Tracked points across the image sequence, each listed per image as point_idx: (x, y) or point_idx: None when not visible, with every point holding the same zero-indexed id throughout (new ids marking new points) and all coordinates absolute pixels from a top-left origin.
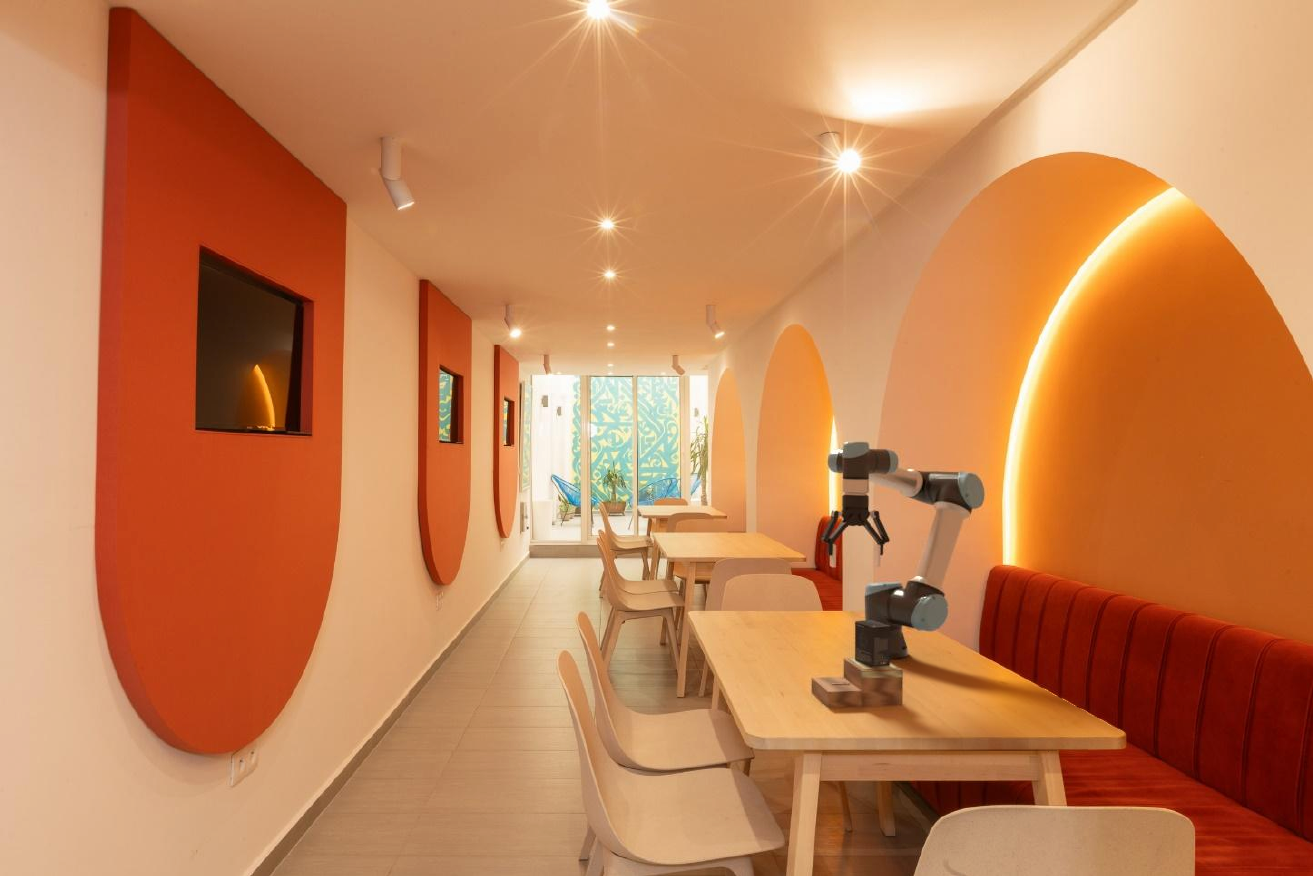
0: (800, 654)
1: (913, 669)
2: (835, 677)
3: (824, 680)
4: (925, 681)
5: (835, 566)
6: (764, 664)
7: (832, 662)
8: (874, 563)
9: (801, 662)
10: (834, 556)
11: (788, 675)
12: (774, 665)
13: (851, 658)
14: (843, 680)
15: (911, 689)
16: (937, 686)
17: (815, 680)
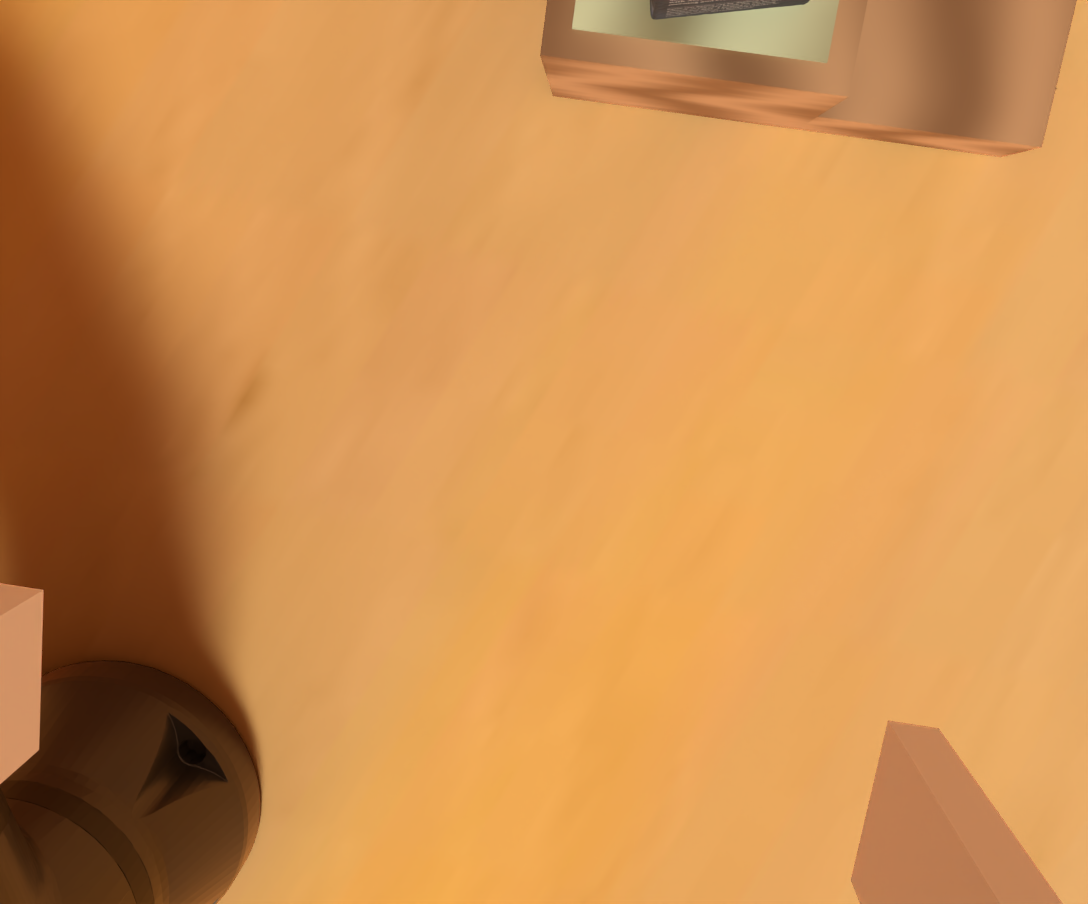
0: (634, 886)
1: (122, 450)
2: (878, 118)
3: (991, 68)
4: (184, 212)
5: (901, 728)
6: (964, 752)
7: (531, 693)
8: (9, 754)
9: (718, 737)
10: (1003, 858)
11: (942, 515)
12: (914, 719)
13: (789, 82)
14: (864, 41)
15: (357, 84)
16: (168, 103)
17: (1051, 83)
